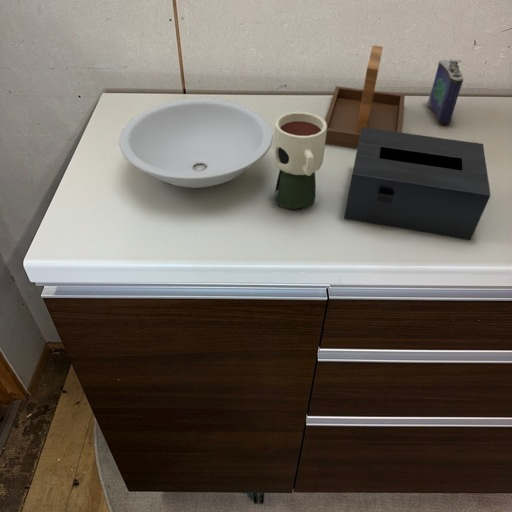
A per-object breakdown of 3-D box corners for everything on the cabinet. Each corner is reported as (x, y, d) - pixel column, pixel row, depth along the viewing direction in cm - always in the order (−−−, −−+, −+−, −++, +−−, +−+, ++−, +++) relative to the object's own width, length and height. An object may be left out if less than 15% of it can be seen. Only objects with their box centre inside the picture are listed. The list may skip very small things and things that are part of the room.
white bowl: (246, 122, 90) (245, 89, 85) (293, 196, 74) (295, 160, 69) (118, 143, 84) (110, 109, 80) (138, 228, 68) (130, 191, 64)
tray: (334, 99, 97) (335, 86, 95) (401, 107, 95) (404, 94, 93) (320, 143, 85) (321, 129, 83) (397, 154, 82) (400, 140, 80)
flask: (425, 103, 96) (440, 49, 88) (439, 103, 96) (455, 49, 88) (438, 126, 89) (456, 71, 82) (453, 126, 89) (472, 71, 82)
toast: (365, 134, 86) (378, 69, 77) (355, 133, 86) (367, 68, 77) (370, 108, 92) (382, 46, 84) (361, 107, 93) (372, 45, 84)
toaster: (466, 187, 76) (483, 143, 70) (470, 244, 66) (491, 199, 61) (353, 169, 79) (361, 127, 73) (343, 222, 69) (351, 178, 64)
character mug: (264, 181, 76) (266, 107, 67) (306, 176, 78) (314, 102, 68) (281, 225, 69) (286, 148, 60) (327, 218, 70) (339, 142, 61)
